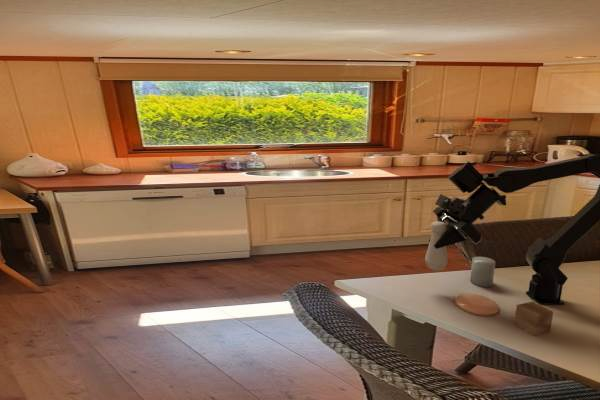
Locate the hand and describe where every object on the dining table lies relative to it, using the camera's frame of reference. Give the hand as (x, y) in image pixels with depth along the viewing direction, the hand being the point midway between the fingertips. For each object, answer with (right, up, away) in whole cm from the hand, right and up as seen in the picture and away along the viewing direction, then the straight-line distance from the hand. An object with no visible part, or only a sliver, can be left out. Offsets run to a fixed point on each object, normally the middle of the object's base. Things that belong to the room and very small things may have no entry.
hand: (432, 245), depth 98 cm
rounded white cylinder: (+17, -12, +8) cm, 22 cm away
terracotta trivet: (+9, -15, -6) cm, 18 cm away
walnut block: (+17, -17, -16) cm, 29 cm away
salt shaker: (+1, -7, +1) cm, 7 cm away
